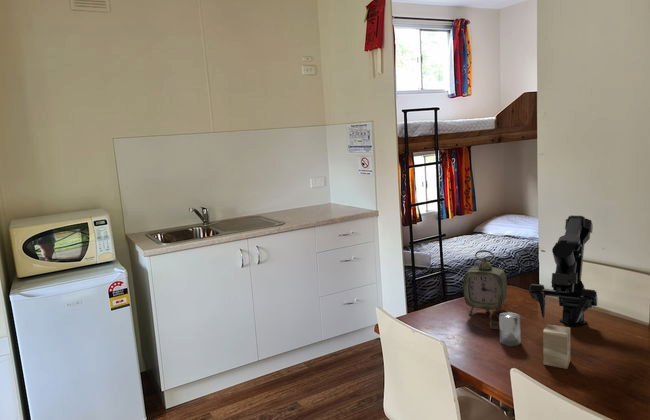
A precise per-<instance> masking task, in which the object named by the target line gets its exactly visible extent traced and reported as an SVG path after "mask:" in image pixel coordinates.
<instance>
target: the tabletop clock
mask: <svg viewBox="0 0 650 420" xmlns="http://www.w3.org/2000/svg"><path fill="white" fill-rule="evenodd" d="M479 253H489V254H491V256H492V257H491V258H489V259H487V257H483V258H480V257H478V256H477V254H479ZM474 257H475V258H476V259H477V260H478V261H481V262H479V264H478V265H477V266H473V267H470V268H469V269H468V270H467V272H465V274H464V276H463V284H462V285H463V286H462V289H463V290H462V291H463V298H464V301H465V303H466V305H467V306H469V307H471V308H470V309H469V310H468V311H467V313H468V314H469V315H472V314H473V313H474V312H473V310H474V308H476V309H482V310H485V312H486V313H489V312H490V310H493V311H495V310H497V309H498V308H499V307H503V304H504V303H505V302H506V299H507V294H508V283H507V275H506V273H505V270H503V269H501V268H498V267H493V265H492V264H491V263H490V262H491V261H493V260H494V259H495V255H494V253H493V252H492V251H491V250H486V249H481V250H478V251H476V252H475V255H474ZM496 317H497V318H498V316H497V315H496Z"/></svg>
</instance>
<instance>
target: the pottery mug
mask: <svg viewBox="0 0 650 420" xmlns="http://www.w3.org/2000/svg"><path fill="white" fill-rule="evenodd" d="M505 312H511V311H509V310H508V309H507V308H503V306H501V307H499V308H498V309H497V310H496V309H495V310H493V311H492V312H491V313H490V314H489V317H488V318H489V319H490V320H489V327H490V330H493V329H494V330H500V328H499V321H494V320H493V318H494V316H496V317H497V316H498V317H497V318H498V319H499V314H501V313H505Z"/></svg>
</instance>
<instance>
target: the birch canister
mask: <svg viewBox="0 0 650 420" xmlns="http://www.w3.org/2000/svg"><path fill="white" fill-rule="evenodd" d="M542 332H543V333H542V335H543V338H542V339H543V340H542V343H543V348H542V349H543V352H542V353H543V354H542V355H543V356H542V357H543V366H544V365H545V366H550V367H553V368H554V367H555V368H561V369H566V370H568V368H569V365H570V362H571V326H561V325H556V324H555V325H554V324H548V323H547V324H546V325H545V327H544V329H543V331H542Z"/></svg>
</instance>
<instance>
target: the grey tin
mask: <svg viewBox="0 0 650 420" xmlns="http://www.w3.org/2000/svg"><path fill="white" fill-rule="evenodd" d="M498 322H499V328H500V329H499V342H500V344H502V345H505V346H509V347H514V346H515V347H516V346H519V345H520V344H521V342H522V341H521V315H520V314H518V313H516V312H512V311H510V312H505V313H501V314H499V318H498Z"/></svg>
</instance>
